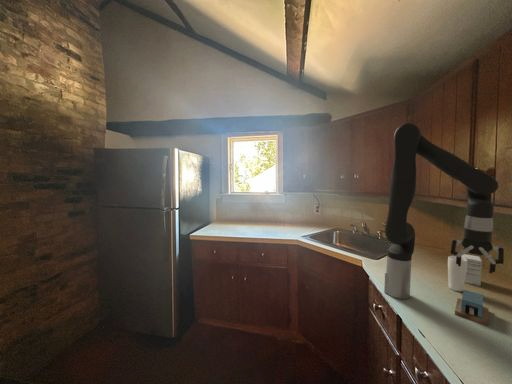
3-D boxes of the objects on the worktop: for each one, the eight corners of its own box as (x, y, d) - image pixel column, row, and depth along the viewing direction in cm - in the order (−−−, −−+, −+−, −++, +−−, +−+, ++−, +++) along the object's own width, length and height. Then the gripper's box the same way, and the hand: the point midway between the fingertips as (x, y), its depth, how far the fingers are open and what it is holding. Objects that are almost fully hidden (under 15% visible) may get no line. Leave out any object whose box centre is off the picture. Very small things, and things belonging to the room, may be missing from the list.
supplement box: (458, 276, 116) (460, 253, 115) (478, 280, 111) (480, 256, 110) (459, 281, 110) (461, 257, 109) (480, 286, 105) (482, 261, 104)
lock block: (462, 300, 91) (463, 289, 91) (482, 306, 87) (483, 294, 87) (461, 311, 84) (461, 299, 84) (481, 318, 80) (482, 305, 80)
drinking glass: (455, 285, 107) (457, 255, 105) (469, 292, 100) (472, 261, 99) (442, 285, 106) (444, 255, 105) (455, 293, 100) (457, 261, 98)
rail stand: (454, 314, 85) (455, 304, 85) (457, 301, 93) (458, 292, 93) (488, 325, 78) (489, 315, 78) (488, 311, 87) (489, 301, 86)
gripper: (505, 229, 80) (501, 272, 82) (453, 223, 91) (450, 261, 92) (507, 233, 75) (502, 278, 77) (452, 226, 86) (448, 266, 87)
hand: (474, 269), depth 85 cm, fingers open, 8 cm apart
